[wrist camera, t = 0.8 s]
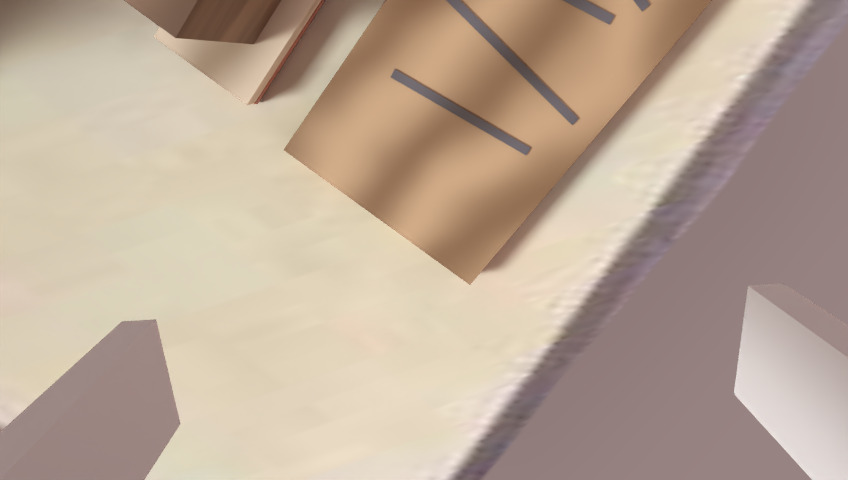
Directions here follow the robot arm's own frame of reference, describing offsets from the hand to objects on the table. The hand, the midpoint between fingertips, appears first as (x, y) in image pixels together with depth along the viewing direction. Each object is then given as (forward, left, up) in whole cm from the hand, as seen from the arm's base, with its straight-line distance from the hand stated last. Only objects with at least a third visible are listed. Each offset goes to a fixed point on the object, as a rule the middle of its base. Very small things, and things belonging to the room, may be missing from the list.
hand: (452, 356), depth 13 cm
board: (-1, +6, -23) cm, 24 cm away
